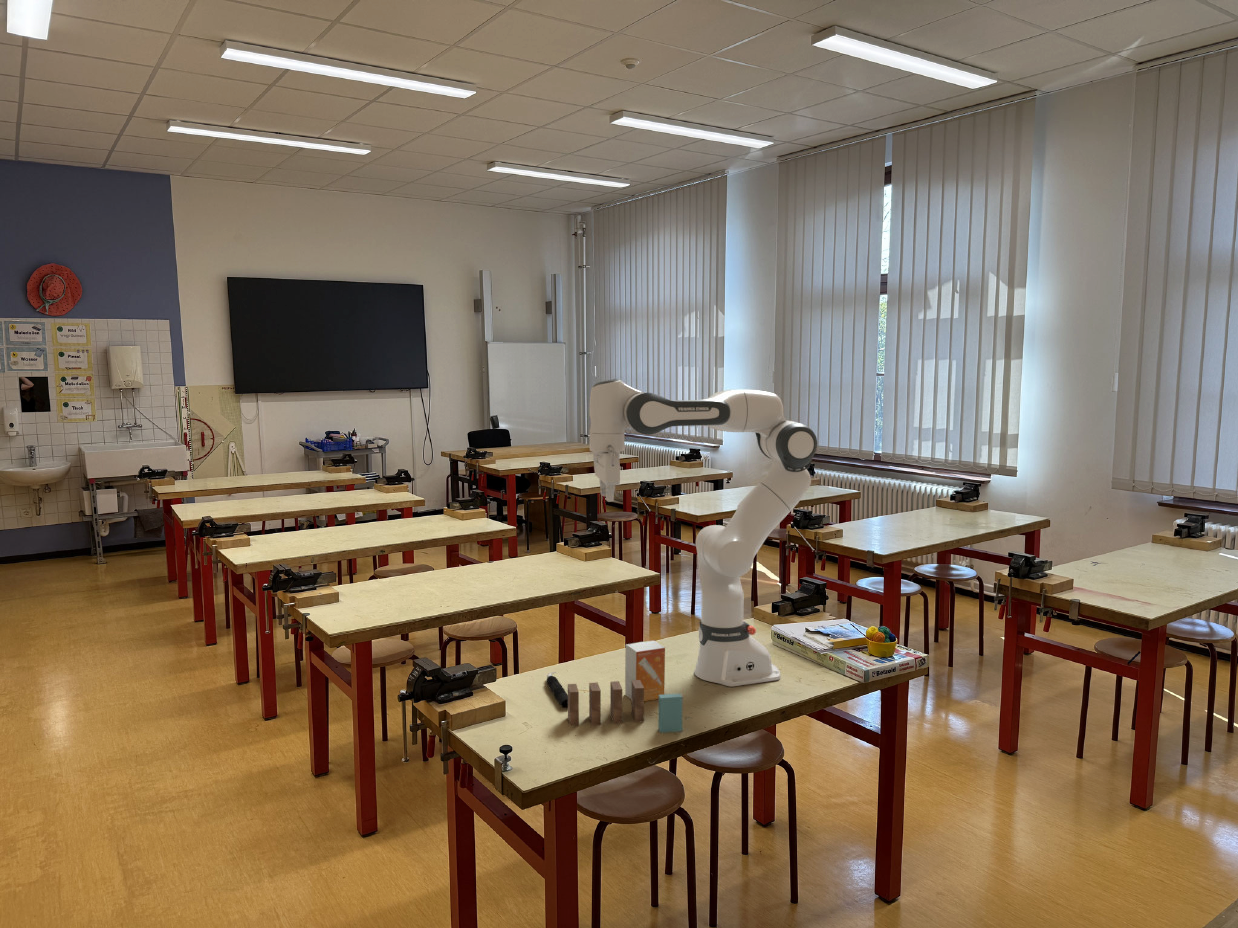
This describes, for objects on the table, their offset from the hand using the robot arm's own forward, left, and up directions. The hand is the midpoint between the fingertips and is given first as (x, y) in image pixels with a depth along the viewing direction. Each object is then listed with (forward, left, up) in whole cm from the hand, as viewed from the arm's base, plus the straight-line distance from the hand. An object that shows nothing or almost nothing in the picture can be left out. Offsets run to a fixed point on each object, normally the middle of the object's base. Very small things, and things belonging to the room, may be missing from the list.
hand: (607, 498), depth 212 cm
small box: (-8, +12, -48) cm, 50 cm away
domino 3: (+1, +24, -48) cm, 54 cm away
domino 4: (-4, +24, -48) cm, 54 cm away
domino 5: (-10, +32, -48) cm, 58 cm away
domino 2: (+6, +24, -48) cm, 54 cm away
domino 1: (+11, +24, -48) cm, 55 cm away
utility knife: (+13, +6, -48) cm, 51 cm away
